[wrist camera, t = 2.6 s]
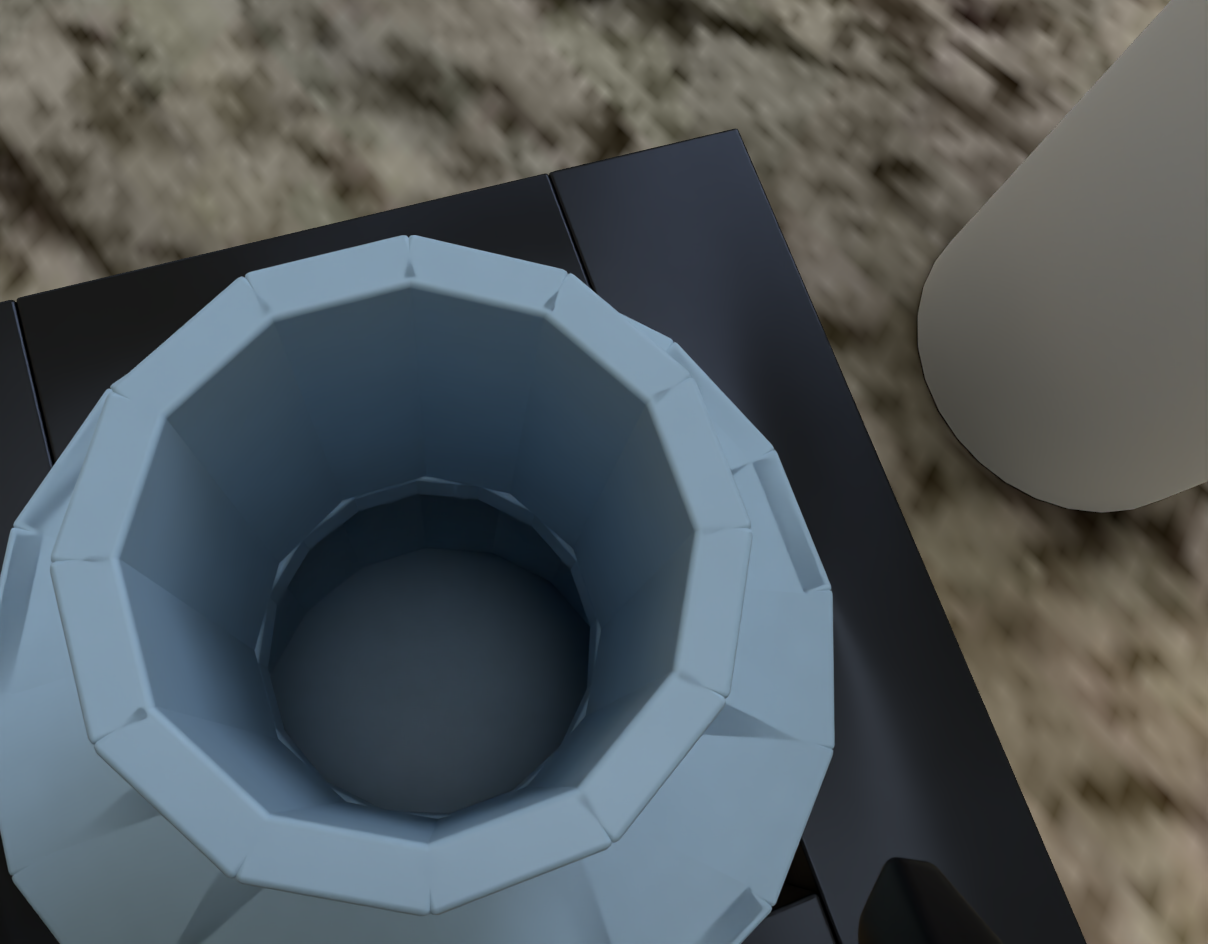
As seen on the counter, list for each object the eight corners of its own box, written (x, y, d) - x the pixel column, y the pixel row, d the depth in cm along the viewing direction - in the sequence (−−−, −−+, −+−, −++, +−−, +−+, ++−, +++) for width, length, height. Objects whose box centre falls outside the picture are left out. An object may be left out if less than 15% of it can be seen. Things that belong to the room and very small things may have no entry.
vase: (678, 838, 19) (1301, 985, 5) (309, 983, 17) (-250, 1758, 4) (558, 496, 20) (783, -119, 6) (209, 603, 19) (-458, 103, 5)
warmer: (977, 988, 19) (1160, 1059, 14) (102, 1389, 15) (-59, 1666, 11) (682, 253, 22) (747, 104, 17) (-88, 455, 19) (-275, 340, 14)
